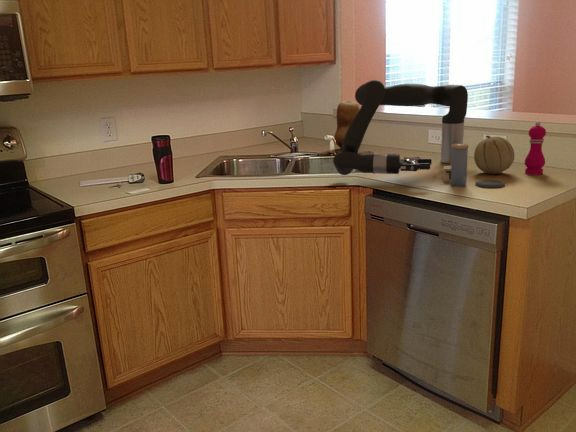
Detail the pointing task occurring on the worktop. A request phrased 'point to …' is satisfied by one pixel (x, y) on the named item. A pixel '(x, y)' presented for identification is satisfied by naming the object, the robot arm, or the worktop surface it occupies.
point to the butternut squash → (345, 119)
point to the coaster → (490, 184)
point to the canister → (459, 165)
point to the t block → (447, 173)
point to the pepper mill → (535, 151)
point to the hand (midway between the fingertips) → (430, 164)
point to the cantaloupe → (494, 155)
